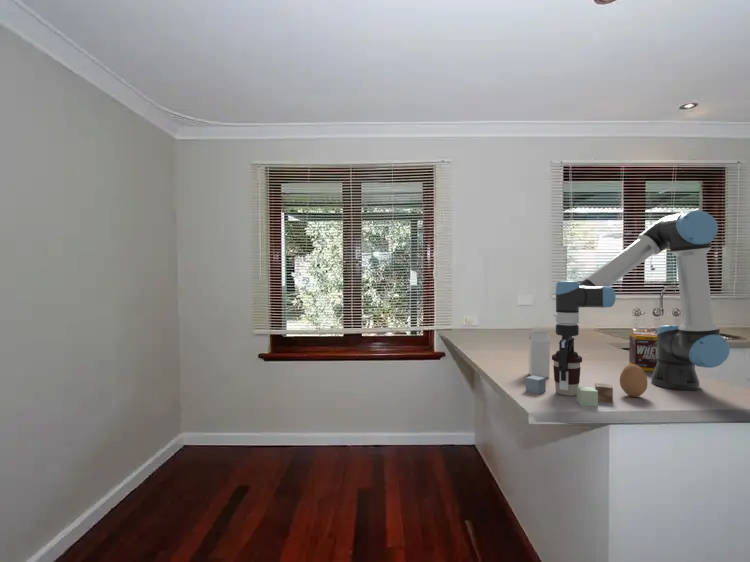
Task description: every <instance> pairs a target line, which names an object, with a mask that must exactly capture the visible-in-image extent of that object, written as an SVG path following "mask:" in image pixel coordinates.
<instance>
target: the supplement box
mask: <svg viewBox="0 0 750 562" xmlns="http://www.w3.org/2000/svg"><path fill="white" fill-rule="evenodd" d="M628 339H629V347H628V348H629V350H628V351H629V352H628V354H629V355H628V357H629V358H628V360H629V361H628V362H629V364H628V365H631V364H635V365H637V366H639V367H640V368H641V369H642V370H643V371H644V372H652V373H653V372H654V369H655V367H656V364H657V332H655V331H635V330H634V331H632V330H631V331H629V338H628Z"/></svg>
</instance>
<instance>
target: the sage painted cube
mask: <svg viewBox="0 0 750 562" xmlns="http://www.w3.org/2000/svg"><path fill="white" fill-rule="evenodd" d="M576 402H577V403H578V404H579V405H580V406H581V407H598V406H599V401H598V391H597V390H596V389H595V387H594V386H578V387H577V395H576Z"/></svg>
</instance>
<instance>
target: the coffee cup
mask: <svg viewBox="0 0 750 562" xmlns="http://www.w3.org/2000/svg"><path fill="white" fill-rule="evenodd" d="M551 361H553V365H552V366H553V377H554V379H553V380H554V385H555V386H554V387H555V392H556V394H557V395H558V394H559V395H562V396H567V397H572V396H573V397H574V396H577V387H579V384H580V380H581V379H580V378H581V363H582V362H583V356H580V355H579V354H578V352H577V351H575V350H574V351H571V353H569V357H568V359H567V361H568V390H561V389H560V371H557V369H558V366H559V350H556V351H555V353H554V354H552V355H551Z"/></svg>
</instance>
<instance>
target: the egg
mask: <svg viewBox="0 0 750 562" xmlns="http://www.w3.org/2000/svg"><path fill="white" fill-rule="evenodd" d="M619 385H620V388H621V390H622V391H623V392H624V393H625V394H626V395H627V396H629V397H633V398H636V397H640V396H642V395H643V394H644V393H646V390H647V388H648V377H647V375H646V373H645V371H643V370H642V369H641V368H640V367H639V366H637V365H635V364H631V365H630V364H628V365H626V366H625V367H624V368H623V369H622V371H621V373H620V376H619Z"/></svg>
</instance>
